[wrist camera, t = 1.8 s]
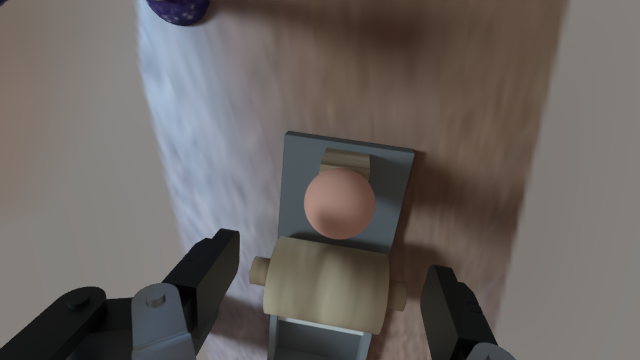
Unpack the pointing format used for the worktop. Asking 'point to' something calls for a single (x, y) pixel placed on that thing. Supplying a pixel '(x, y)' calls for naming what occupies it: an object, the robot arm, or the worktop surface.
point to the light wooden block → (346, 161)
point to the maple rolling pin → (328, 285)
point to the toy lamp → (175, 10)
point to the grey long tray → (298, 172)
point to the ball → (339, 203)
